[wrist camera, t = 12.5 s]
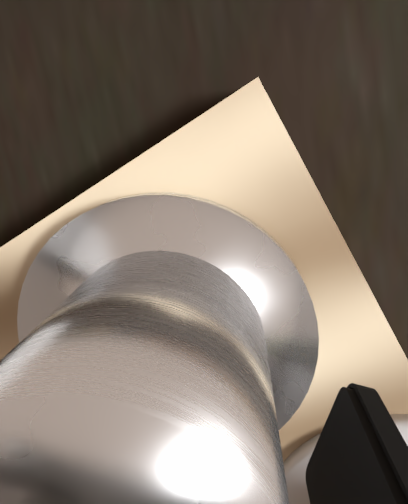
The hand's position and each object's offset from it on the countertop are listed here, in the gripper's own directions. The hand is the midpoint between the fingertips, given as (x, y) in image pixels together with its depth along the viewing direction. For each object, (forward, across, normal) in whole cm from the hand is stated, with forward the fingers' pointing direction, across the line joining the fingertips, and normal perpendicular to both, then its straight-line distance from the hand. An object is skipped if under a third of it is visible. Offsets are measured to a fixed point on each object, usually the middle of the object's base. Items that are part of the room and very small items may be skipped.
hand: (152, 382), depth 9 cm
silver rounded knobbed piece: (+2, +1, +2) cm, 3 cm away
